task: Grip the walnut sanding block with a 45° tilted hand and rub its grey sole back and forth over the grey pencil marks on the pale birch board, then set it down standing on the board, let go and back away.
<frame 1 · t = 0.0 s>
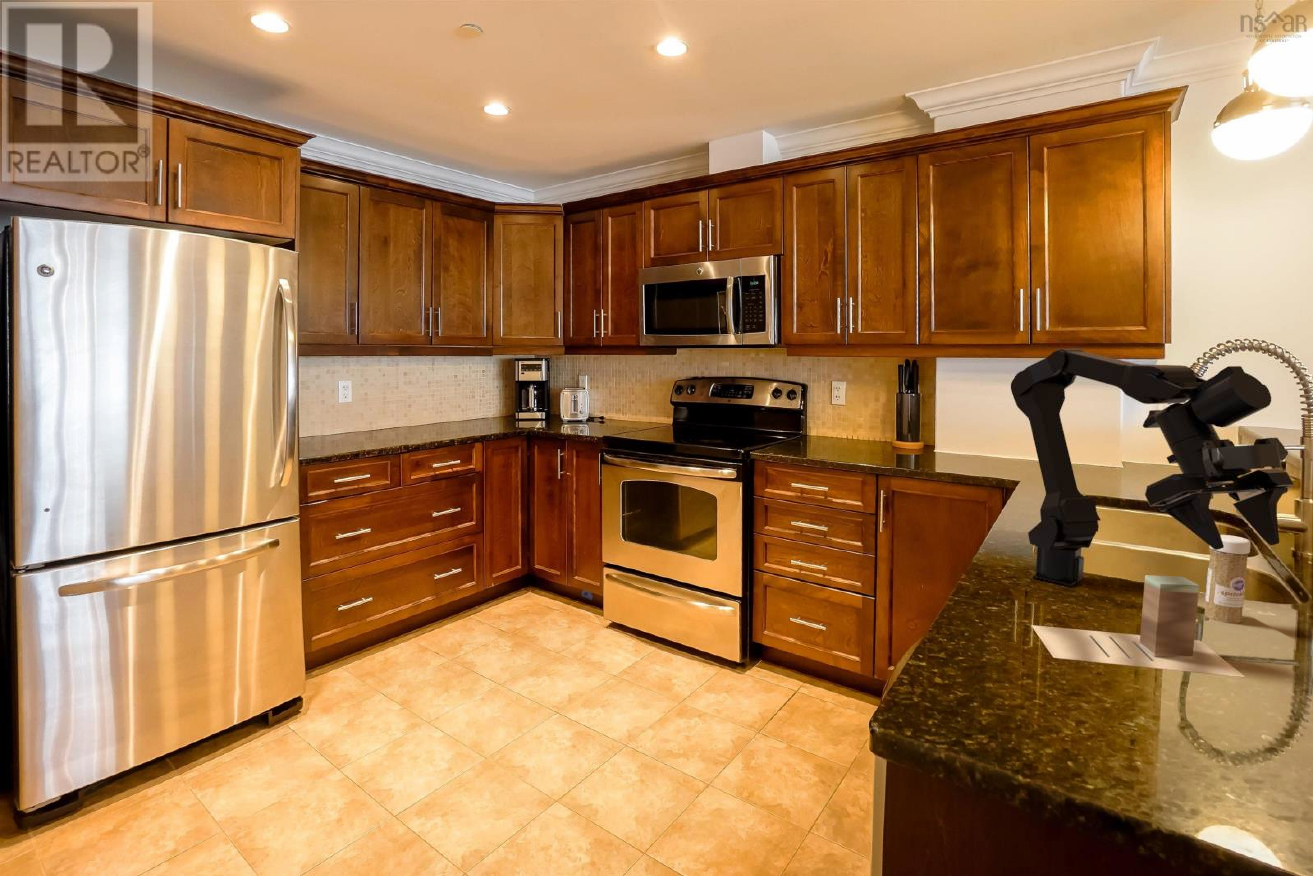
hand: (1247, 546, 88), 15 cm above the counter, tool tilted 35°, fingers open, 9 cm apart
sanding block: (1165, 652, 88), point 1 cm above the counter, touching birch board
sprinkles bottle: (1222, 625, 100), on the counter
birch board: (1128, 655, 89), on the counter
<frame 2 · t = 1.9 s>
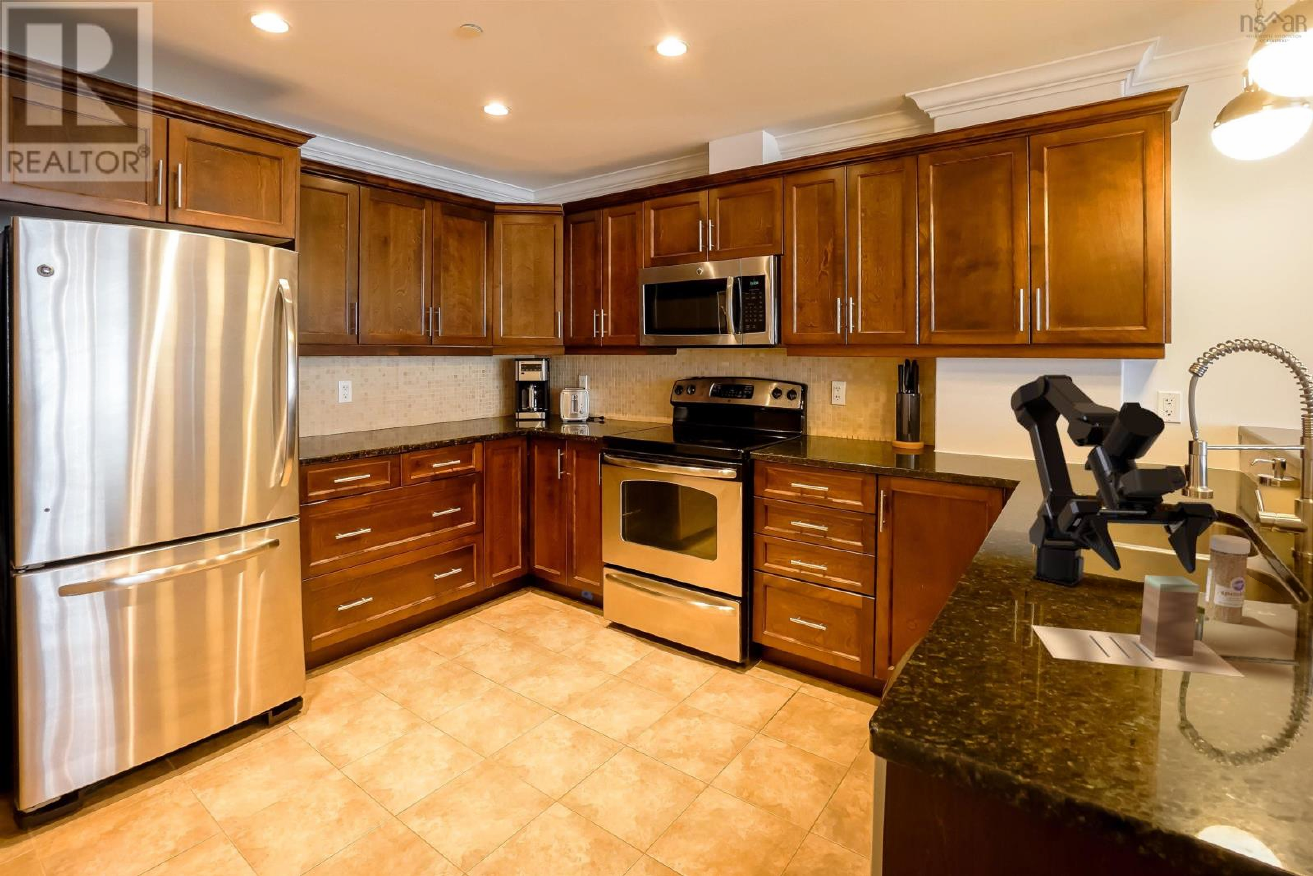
hand: (1155, 570, 90), 11 cm above the counter, tool tilted 45°, fingers open, 9 cm apart
nothing on the counter moved.
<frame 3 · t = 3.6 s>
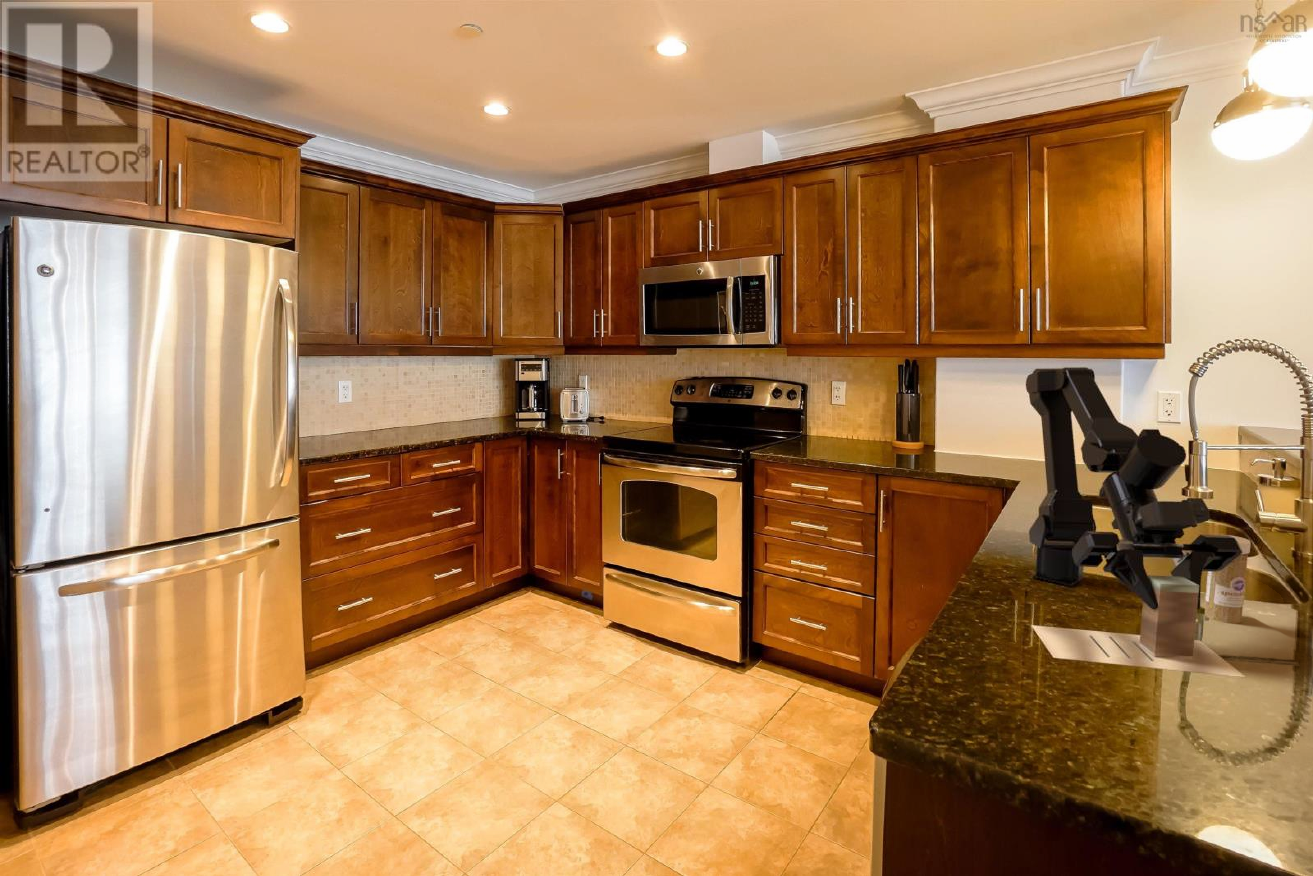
hand: (1175, 609, 86), 8 cm above the counter, tool tilted 45°, fingers closed on sanding block, 4 cm apart
sanding block: (1165, 652, 88), point 1 cm above the counter, touching birch board, gripper
everything else where it was.
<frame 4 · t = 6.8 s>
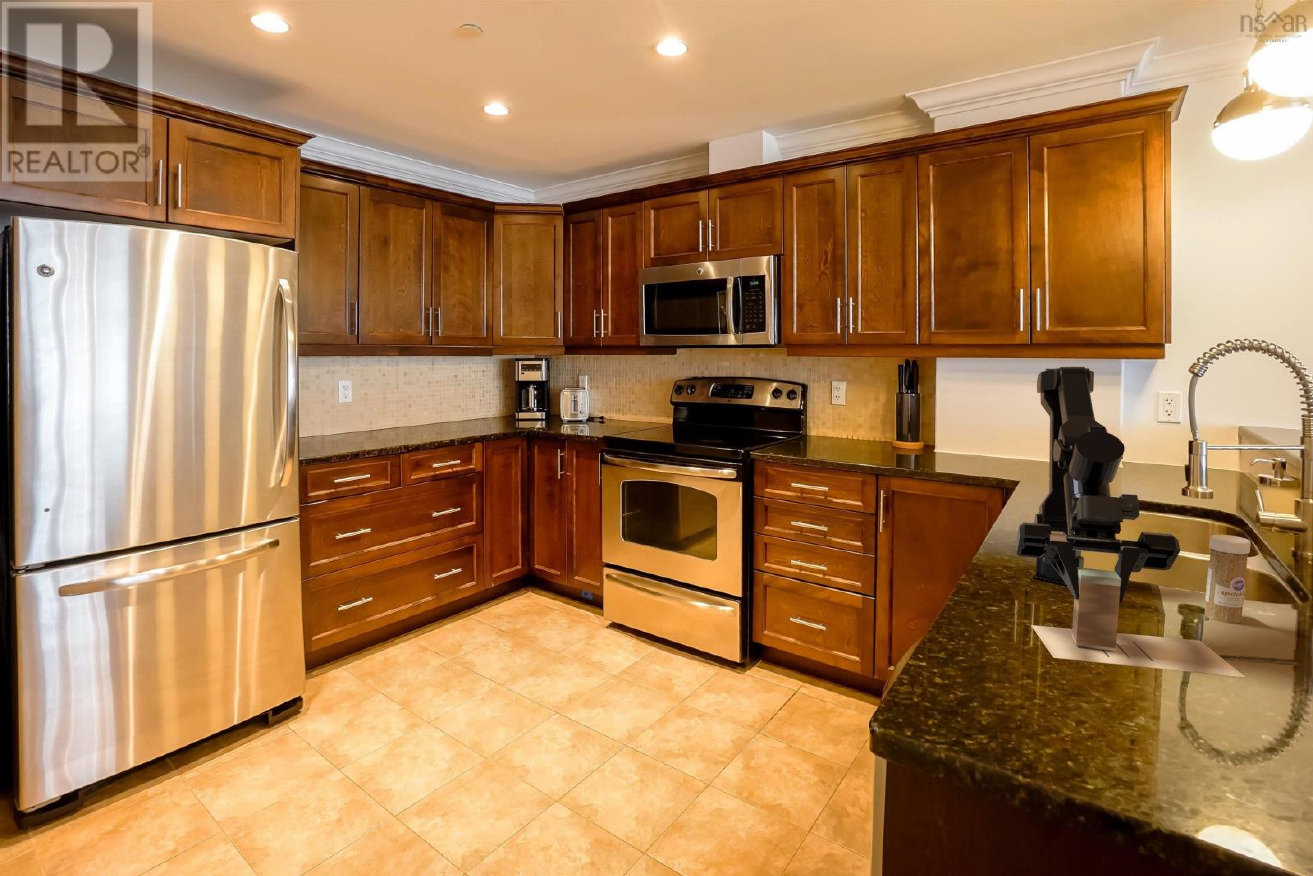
hand: (1098, 600, 88), 8 cm above the counter, tool tilted 45°, fingers closed on sanding block, 4 cm apart
sanding block: (1093, 643, 90), point 1 cm above the counter, touching gripper
everything else where it was.
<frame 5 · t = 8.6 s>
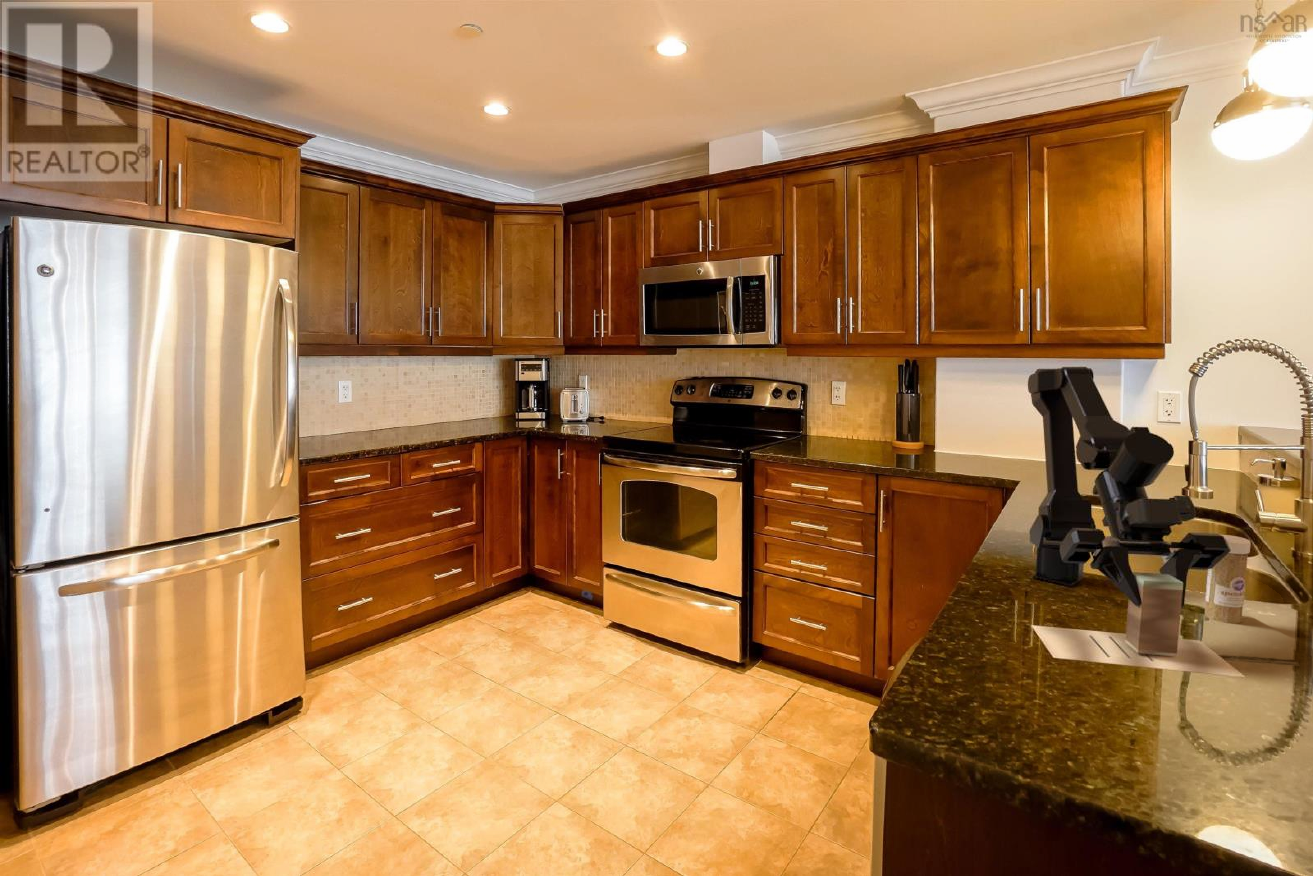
hand: (1159, 606, 86), 8 cm above the counter, tool tilted 45°, fingers closed on sanding block, 4 cm apart
sanding block: (1150, 649, 88), point 1 cm above the counter, touching gripper
everything else where it was.
when the fingers open (8 cm above the counter, at t = 9.9 s): sanding block stays where it is, resting on birch board.
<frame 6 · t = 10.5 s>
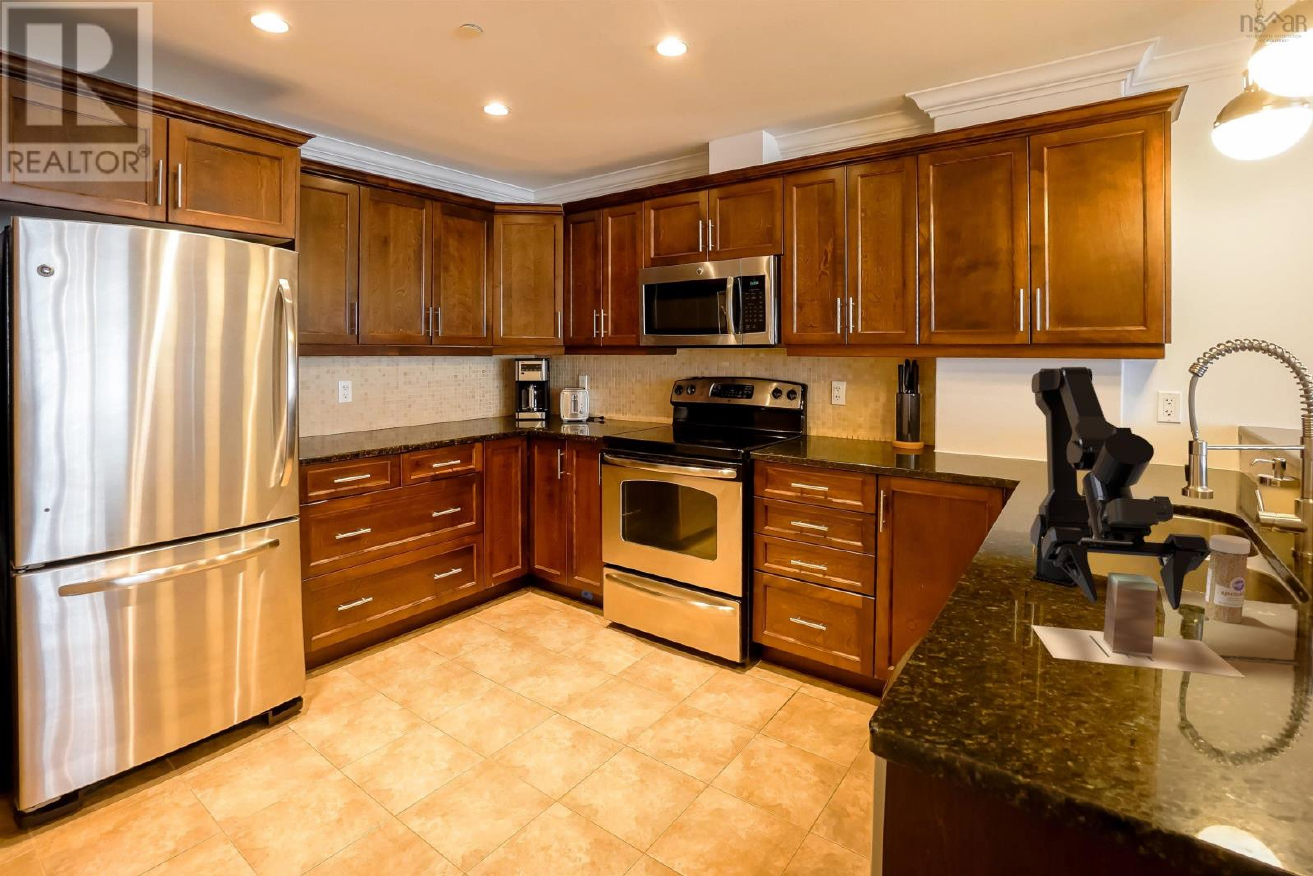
hand: (1134, 605, 87), 8 cm above the counter, tool tilted 45°, fingers open, 9 cm apart
sanding block: (1126, 649, 89), point 1 cm above the counter, touching birch board
everything else where it was.
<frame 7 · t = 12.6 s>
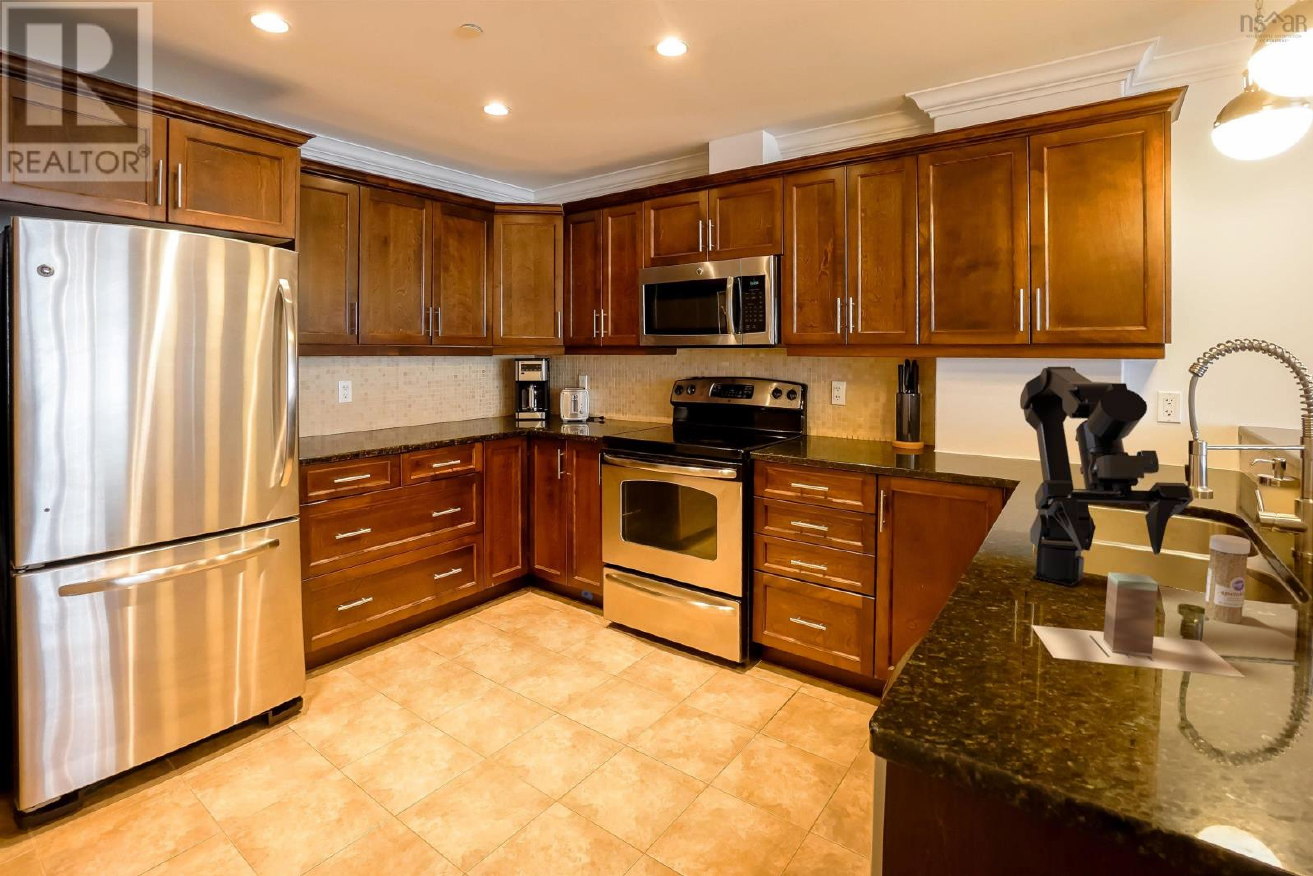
hand: (1119, 551, 94), 13 cm above the counter, tool tilted 35°, fingers open, 9 cm apart
nothing on the counter moved.
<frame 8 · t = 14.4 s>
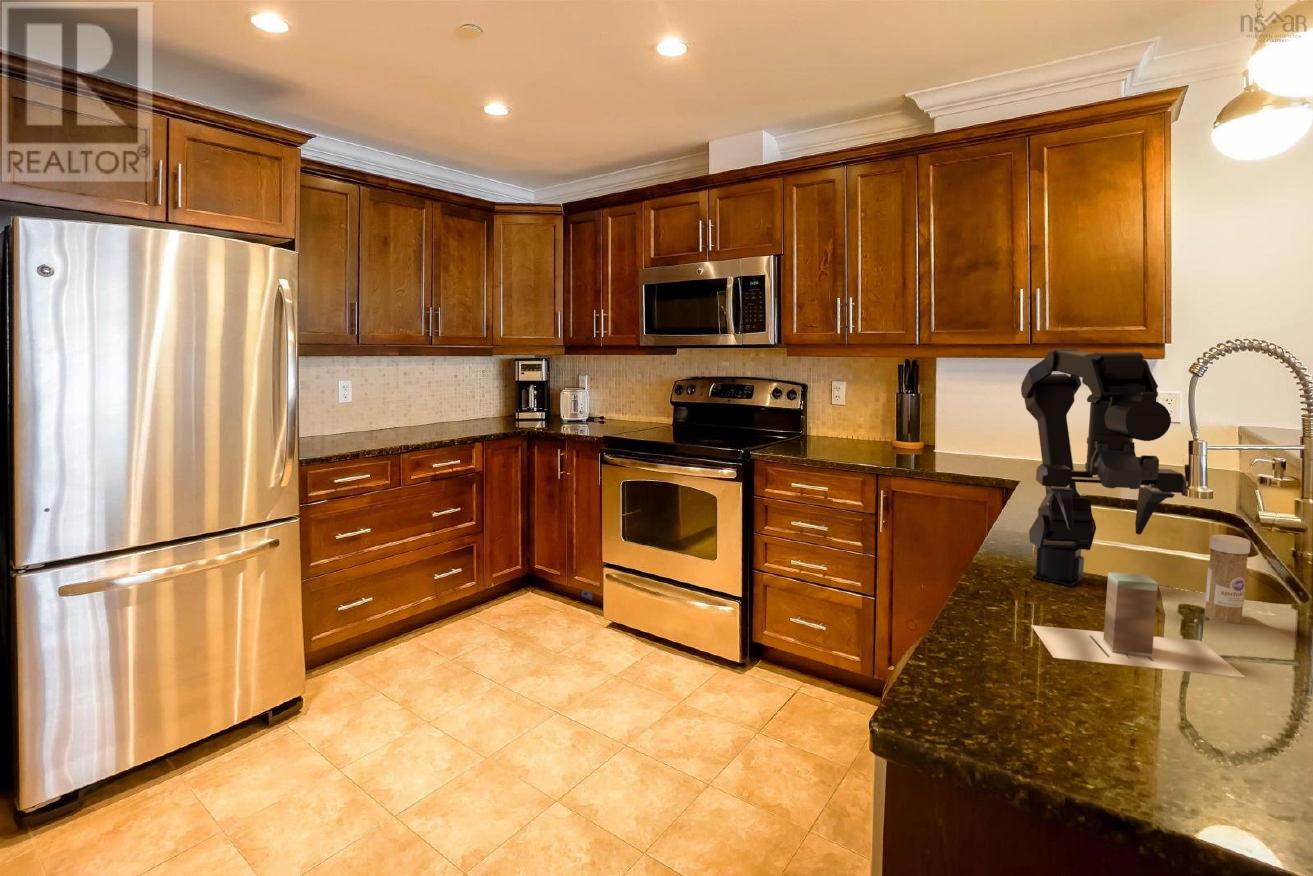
hand: (1103, 531, 104), 13 cm above the counter, tool pointing down, fingers open, 9 cm apart
nothing on the counter moved.
at the end: sanding block inside the target area on the birch board (0.3 cm from its centre), point 1.0 cm above the birch board's base; sanding block moved 4.5 cm from its start; sanding block tilted 0° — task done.
